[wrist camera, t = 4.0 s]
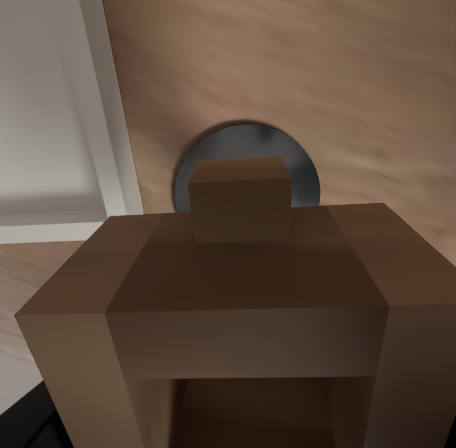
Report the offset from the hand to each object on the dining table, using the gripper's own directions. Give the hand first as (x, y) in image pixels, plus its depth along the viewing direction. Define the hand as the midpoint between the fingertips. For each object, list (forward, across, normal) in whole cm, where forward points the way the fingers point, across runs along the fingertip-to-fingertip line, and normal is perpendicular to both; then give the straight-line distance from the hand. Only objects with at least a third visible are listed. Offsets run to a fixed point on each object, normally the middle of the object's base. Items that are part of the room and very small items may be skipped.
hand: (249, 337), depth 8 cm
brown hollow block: (+1, 0, 0) cm, 1 cm away
